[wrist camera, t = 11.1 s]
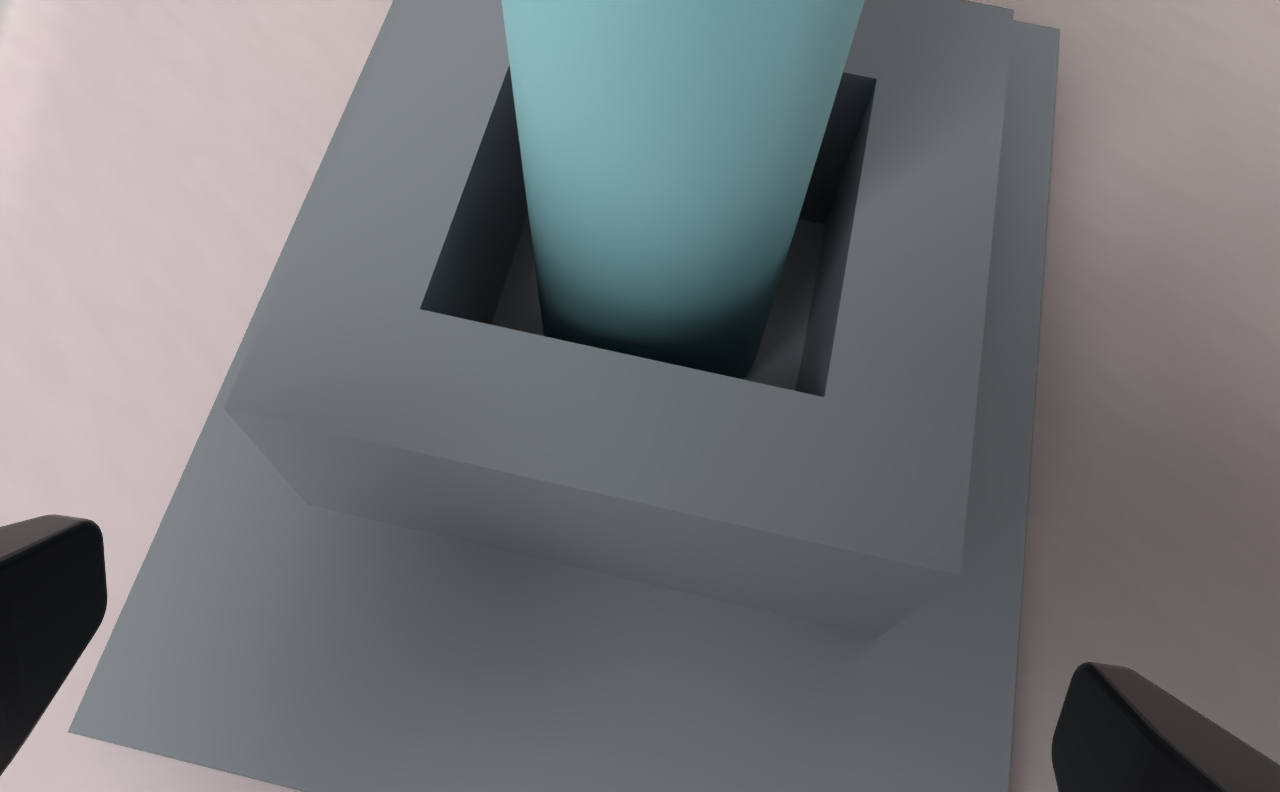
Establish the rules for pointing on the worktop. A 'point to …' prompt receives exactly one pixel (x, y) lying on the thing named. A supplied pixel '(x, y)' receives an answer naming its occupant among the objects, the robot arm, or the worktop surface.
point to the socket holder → (616, 465)
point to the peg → (670, 163)
